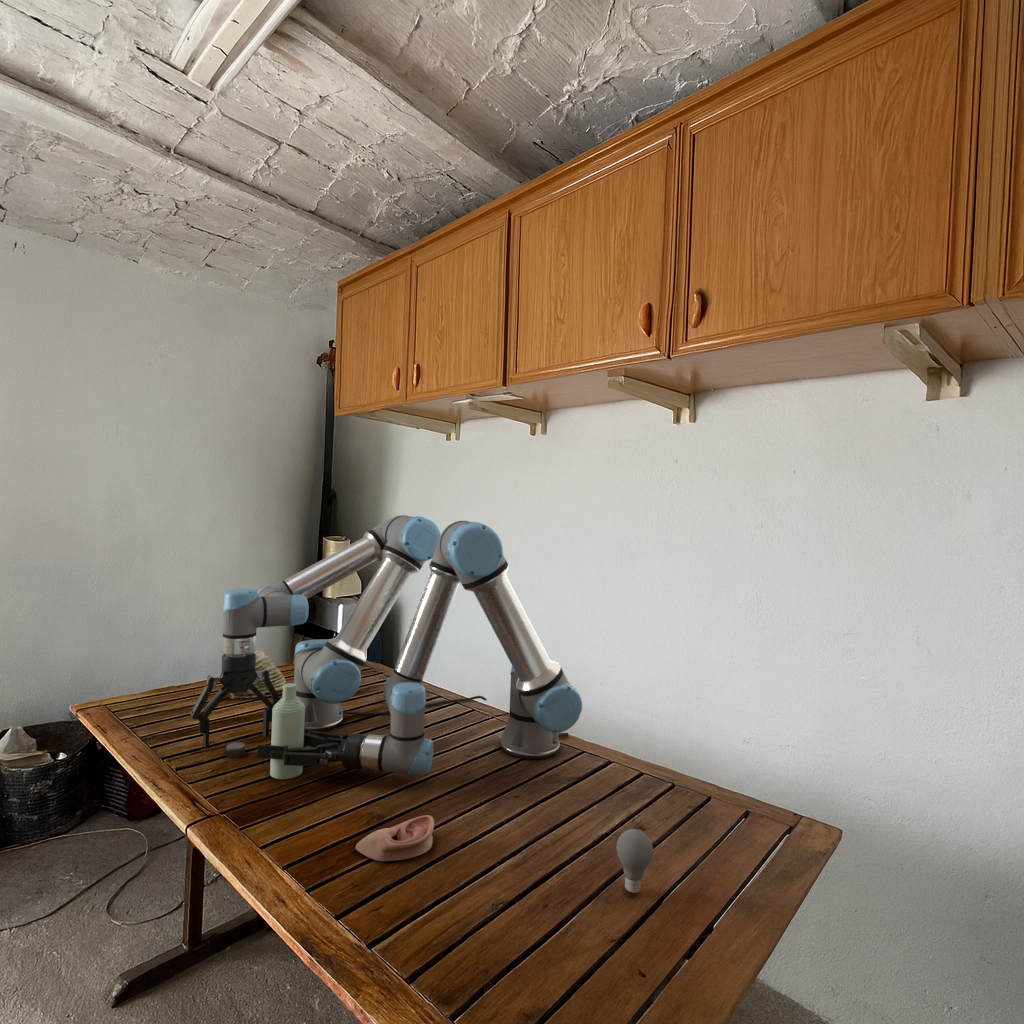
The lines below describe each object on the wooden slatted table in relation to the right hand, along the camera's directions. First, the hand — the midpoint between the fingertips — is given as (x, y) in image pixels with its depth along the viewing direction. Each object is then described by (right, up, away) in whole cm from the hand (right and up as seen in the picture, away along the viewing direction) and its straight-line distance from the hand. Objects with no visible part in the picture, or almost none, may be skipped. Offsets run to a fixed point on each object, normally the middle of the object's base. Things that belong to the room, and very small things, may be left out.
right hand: (266, 744), depth 145 cm
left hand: (-10, -2, +8) cm, 13 cm away
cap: (-11, -4, +8) cm, 14 cm away
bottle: (+5, -6, 0) cm, 8 cm away
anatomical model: (+35, -8, -29) cm, 46 cm away
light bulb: (+76, -10, -39) cm, 86 cm away
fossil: (-24, -4, +53) cm, 59 cm away
